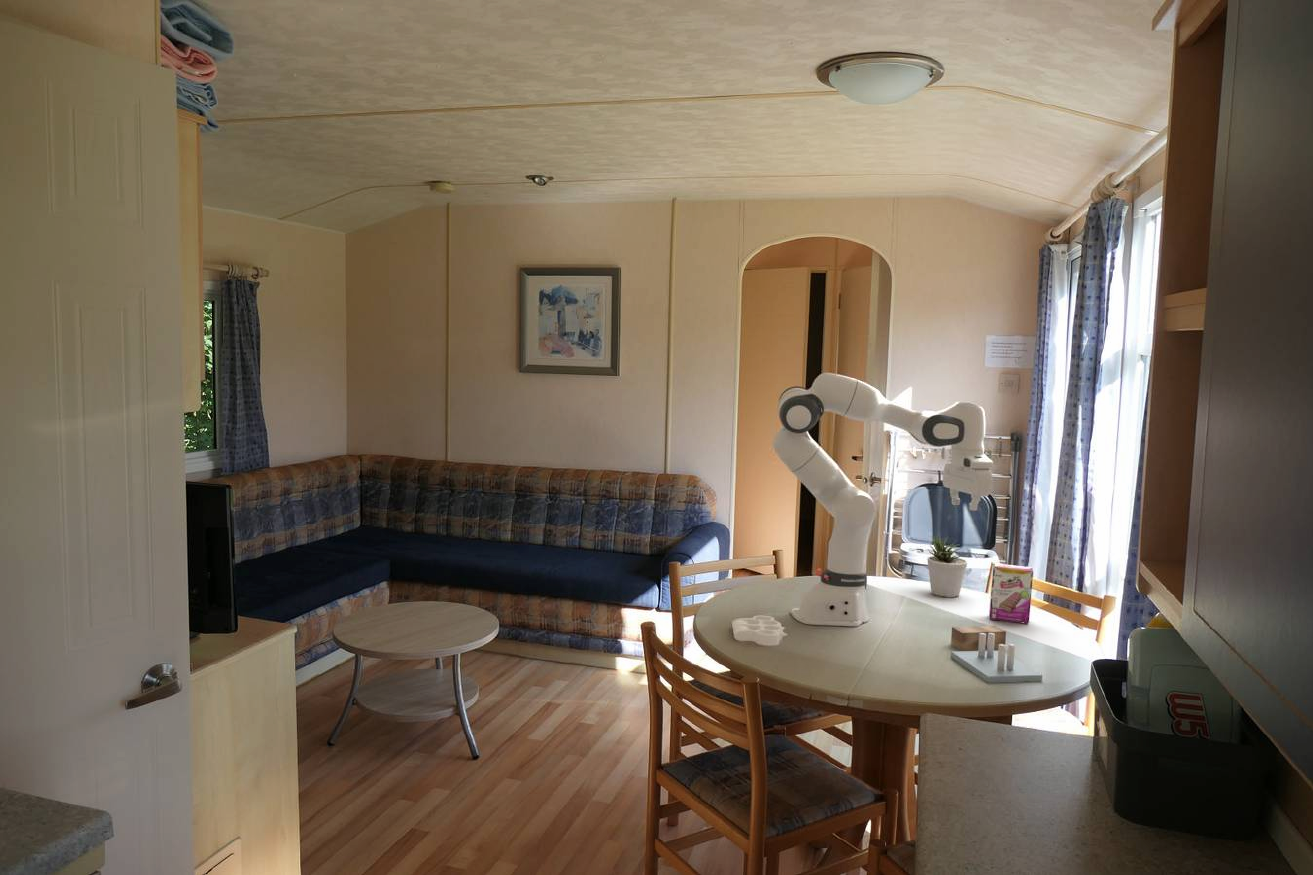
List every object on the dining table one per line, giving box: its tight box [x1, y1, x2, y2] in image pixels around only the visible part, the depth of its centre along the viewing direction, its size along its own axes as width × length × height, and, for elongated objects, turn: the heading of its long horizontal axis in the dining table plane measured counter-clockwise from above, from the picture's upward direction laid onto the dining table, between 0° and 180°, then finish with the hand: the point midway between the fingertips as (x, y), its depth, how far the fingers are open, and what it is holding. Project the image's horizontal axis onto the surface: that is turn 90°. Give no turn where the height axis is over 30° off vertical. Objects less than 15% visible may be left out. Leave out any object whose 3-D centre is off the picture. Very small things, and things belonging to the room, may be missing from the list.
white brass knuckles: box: [731, 614, 788, 647], centre depth 238 cm, size 3×18×15 cm
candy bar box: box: [988, 562, 1034, 624], centre depth 260 cm, size 11×5×16 cm, turn 71°
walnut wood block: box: [950, 625, 1007, 651], centre depth 234 cm, size 13×5×5 cm, turn 102°
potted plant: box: [927, 532, 968, 598], centre depth 288 cm, size 13×14×20 cm
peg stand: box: [950, 633, 1043, 684], centre depth 216 cm, size 14×18×8 cm
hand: (964, 507), depth 247 cm, fingers open, 8 cm apart
